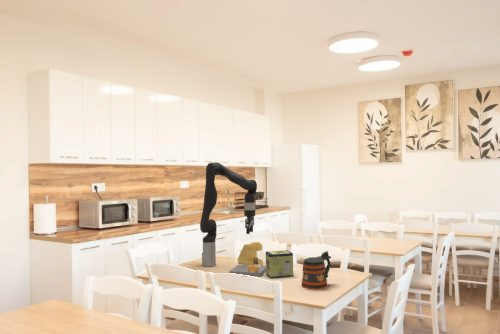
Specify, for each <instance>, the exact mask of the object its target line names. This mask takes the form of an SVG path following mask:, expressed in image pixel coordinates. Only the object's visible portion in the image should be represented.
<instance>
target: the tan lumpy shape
mask: <svg viewBox="0 0 500 334" xmlns="http://www.w3.org/2000/svg"><path fill="white" fill-rule="evenodd" d="M261 243H262V242H260V241H259V242H258V241H256V242H255V241H253V242H251V243H246V244H243V247H242V248H241V250H240V253H239V255H238V258H237V263H238V264H239V265H253V258H254V257H257V258H258V252H261V251H263V244H261ZM263 261H264V260H263V259H260V258H258V265H260V266H264V264H263Z"/></svg>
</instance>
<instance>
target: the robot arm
mask: <svg viewBox="0 0 500 334" xmlns="http://www.w3.org/2000/svg"><path fill="white" fill-rule="evenodd" d="M216 176H222V177H225V178H226V179H227V180H228V181H229V182H230V183H233V184H235V185H237V186H239V188H242V189H243V190H244V191H245V190H246V191H247V192H246V194H244V205H243V211H244V212H243V215H244V216H243V217H246V218H245V220H244V221H245V223H244V228H245V229H246V232H245V234H246V235H250V233H253V232H254V225H255V217H256V194H257V189H258V184H257V181H256V180H255V179H247V178H245V176H243V175H242V174H239V173H236V172H234V171H233V170H231V169H229V168H227V167H226V166H224V165H223V164H222V163H220V162H208V164H207V165H206V168H205V186H204V188H205V189H204V196H203V205H202V206H203V207H202V213H201V218H200V222H199V223H200V224H199V230H200V231H201V233H203V234H206V233H207V234H206V235H205V236H204V237H203V238H202V251H201V267H204V268H205V267H208V268H210V267H211V268H212V267H215V266H216V265H217V262H216V261H217V257H216V256H217V255H216V253H217V251H216V249H217V248H216V239H217V222H216V220H215V219H213V218H212V219H210V216H211V213H212V212H213V210H214V208H215V207H216V205H217V200H218V191H217V188H216V183H215V178H216Z"/></svg>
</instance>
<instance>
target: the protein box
mask: <svg viewBox="0 0 500 334" xmlns="http://www.w3.org/2000/svg"><path fill="white" fill-rule="evenodd" d="M265 266H266V272H265V275H266V276H267V277H268V278H270V279H279V278H290V277H291V276H292V277H294V253H293V252H292V251H290V250H289V249H285V250H271V251H269V250H268V251H267V250H266V251H265Z"/></svg>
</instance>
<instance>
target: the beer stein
mask: <svg viewBox="0 0 500 334" xmlns="http://www.w3.org/2000/svg"><path fill="white" fill-rule="evenodd" d="M331 258H332V256H330V255H329V251H324V252H322V253H321V255H319V256H315V257H314V256H313V257H307V258H305V259H304V260H303V263H302V279H301V288H303V289H305V288H307V289H306V290H312V289H319V290H324V289H326V287H327V288H328V277H329V271H330V268H331V260H330V259H331ZM325 261H326V263H327V265H326V264H325ZM323 288H324V289H323Z"/></svg>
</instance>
